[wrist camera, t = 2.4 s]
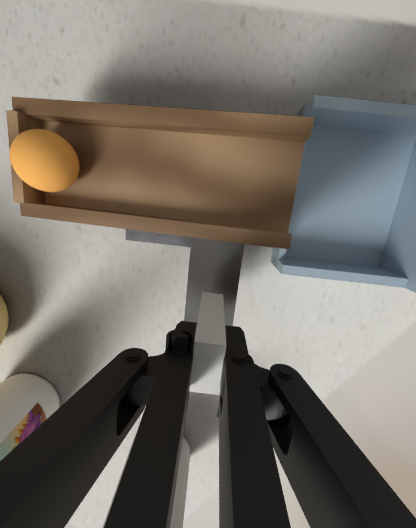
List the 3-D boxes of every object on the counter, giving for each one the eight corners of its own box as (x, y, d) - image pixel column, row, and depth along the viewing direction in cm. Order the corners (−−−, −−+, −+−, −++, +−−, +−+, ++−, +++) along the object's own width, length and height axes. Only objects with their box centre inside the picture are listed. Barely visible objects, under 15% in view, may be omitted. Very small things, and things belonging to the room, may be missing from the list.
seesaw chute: (266, 336, 21) (270, 357, 18) (51, 300, 23) (23, 314, 20) (304, 129, 17) (316, 114, 14) (40, 110, 19) (4, 93, 16)
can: (129, 460, 33) (81, 602, 21) (138, 415, 31) (90, 543, 19) (185, 471, 33) (167, 619, 21) (196, 427, 31) (184, 562, 19)
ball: (35, 166, 19) (-19, 156, 16) (63, 125, 18) (13, 104, 14) (71, 204, 20) (27, 203, 16) (101, 166, 18) (62, 155, 15)
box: (380, 273, 25) (452, 305, 18) (270, 261, 26) (294, 287, 18) (422, 129, 22) (533, 89, 14) (295, 115, 22) (338, 69, 14)
